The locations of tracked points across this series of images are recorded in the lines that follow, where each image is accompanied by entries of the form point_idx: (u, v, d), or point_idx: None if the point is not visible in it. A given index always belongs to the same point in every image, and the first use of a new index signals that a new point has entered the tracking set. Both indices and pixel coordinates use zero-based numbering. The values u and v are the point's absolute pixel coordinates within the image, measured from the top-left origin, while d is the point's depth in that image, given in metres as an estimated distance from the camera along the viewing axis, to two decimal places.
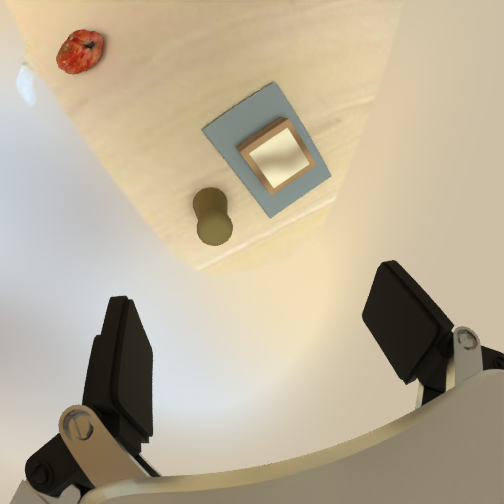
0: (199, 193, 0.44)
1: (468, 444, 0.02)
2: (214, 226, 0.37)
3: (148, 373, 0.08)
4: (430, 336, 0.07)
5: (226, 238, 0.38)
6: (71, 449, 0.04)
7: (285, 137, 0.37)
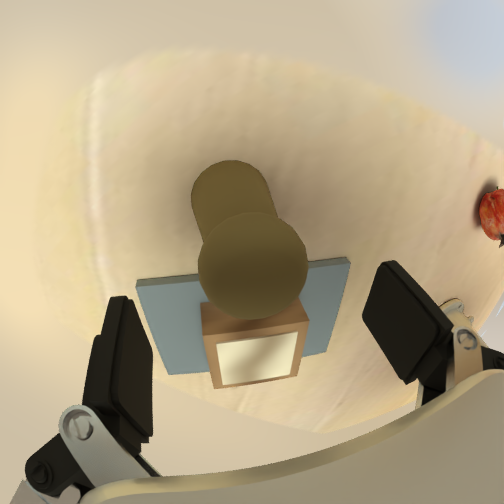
0: None
1: (468, 444, 0.02)
2: (282, 296, 0.12)
3: (148, 373, 0.08)
4: (430, 336, 0.07)
5: (222, 302, 0.12)
6: (71, 449, 0.04)
7: (280, 371, 0.25)
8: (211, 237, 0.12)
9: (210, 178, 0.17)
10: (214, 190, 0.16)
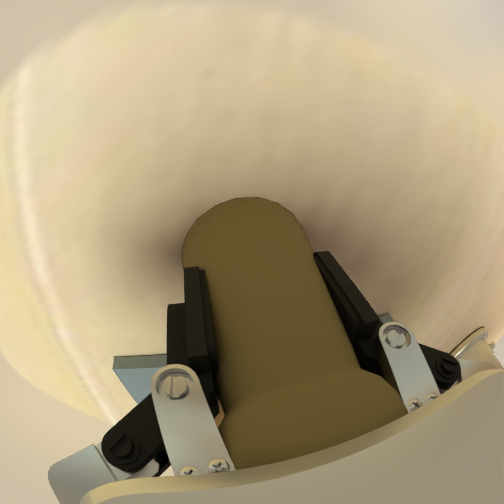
0: None
1: (468, 444, 0.02)
2: None
3: None
4: (352, 330, 0.07)
5: None
6: (155, 403, 0.05)
7: None
8: (241, 452, 0.04)
9: (214, 238, 0.10)
10: (225, 274, 0.08)
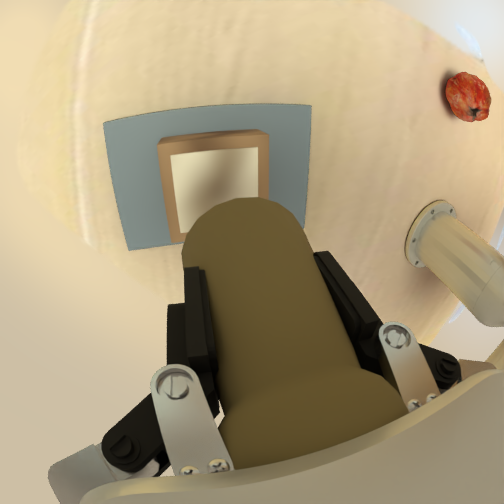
0: None
1: (468, 444, 0.02)
2: None
3: None
4: (352, 330, 0.07)
5: None
6: (155, 403, 0.05)
7: None
8: (241, 452, 0.04)
9: (214, 237, 0.10)
10: (225, 274, 0.08)
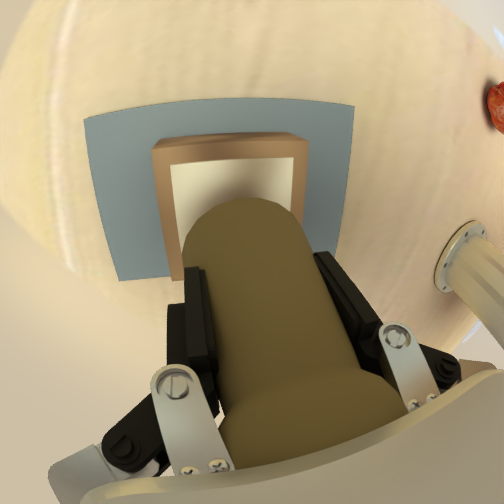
0: None
1: (468, 444, 0.02)
2: None
3: None
4: (352, 330, 0.07)
5: None
6: (155, 404, 0.05)
7: None
8: (242, 453, 0.04)
9: (214, 238, 0.10)
10: (225, 274, 0.08)
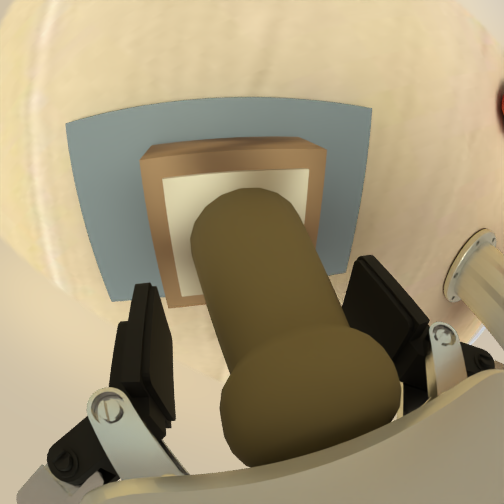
0: None
1: (468, 443, 0.02)
2: None
3: (170, 359, 0.09)
4: (404, 331, 0.07)
5: None
6: (96, 430, 0.04)
7: None
8: (247, 394, 0.05)
9: (221, 222, 0.11)
10: (231, 251, 0.10)
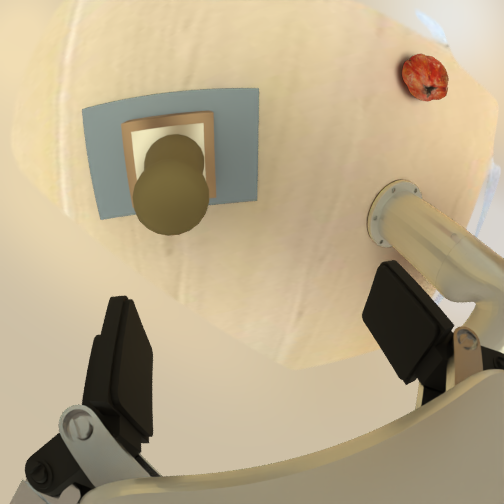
0: None
1: (467, 444, 0.03)
2: (186, 213, 0.16)
3: (148, 373, 0.08)
4: (430, 336, 0.07)
5: (145, 218, 0.16)
6: (71, 449, 0.04)
7: None
8: (140, 175, 0.16)
9: (155, 147, 0.22)
10: (154, 153, 0.20)
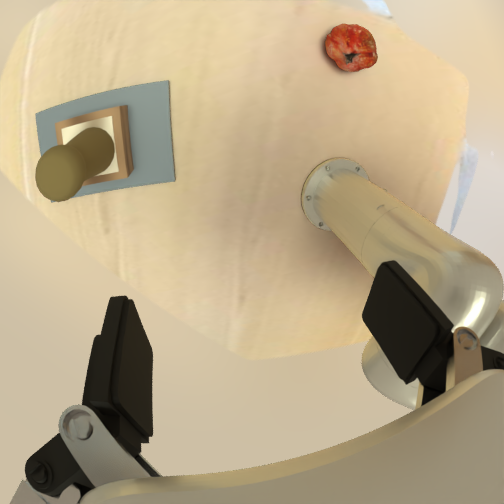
0: (112, 146, 0.26)
1: (468, 443, 0.02)
2: (62, 182, 0.18)
3: (148, 373, 0.08)
4: (430, 336, 0.07)
5: (40, 188, 0.17)
6: (71, 449, 0.04)
7: None
8: None
9: None
10: None
